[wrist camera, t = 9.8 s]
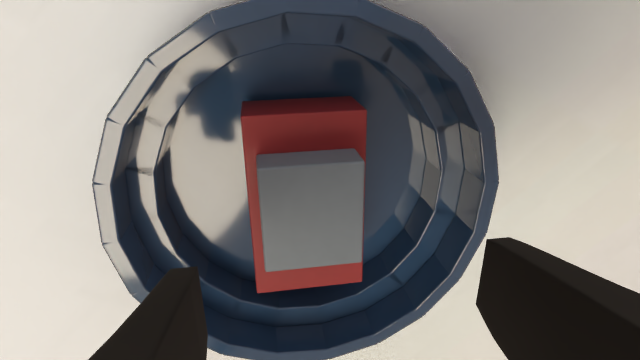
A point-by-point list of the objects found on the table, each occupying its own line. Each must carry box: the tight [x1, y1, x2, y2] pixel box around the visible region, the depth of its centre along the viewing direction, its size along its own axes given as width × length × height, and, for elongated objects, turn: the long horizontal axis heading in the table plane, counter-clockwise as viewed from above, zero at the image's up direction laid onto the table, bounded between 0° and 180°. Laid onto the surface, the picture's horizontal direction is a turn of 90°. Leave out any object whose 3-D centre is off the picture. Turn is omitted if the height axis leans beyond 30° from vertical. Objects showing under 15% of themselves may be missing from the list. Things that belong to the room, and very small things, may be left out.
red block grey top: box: [241, 96, 367, 293], centre depth 16 cm, size 4×7×4 cm, turn 1°
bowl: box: [92, 0, 499, 360], centre depth 16 cm, size 14×14×4 cm
